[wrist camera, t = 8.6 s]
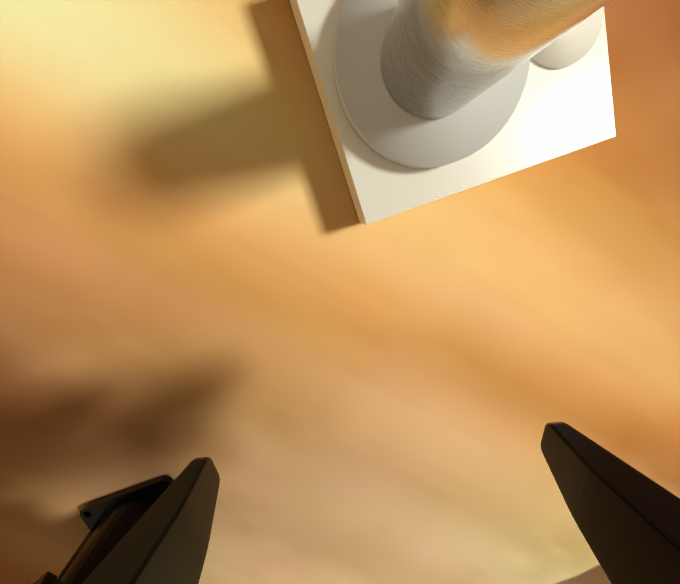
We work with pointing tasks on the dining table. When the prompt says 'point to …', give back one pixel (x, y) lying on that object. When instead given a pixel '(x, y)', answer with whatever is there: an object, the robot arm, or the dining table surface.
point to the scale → (458, 128)
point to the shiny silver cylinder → (466, 47)
